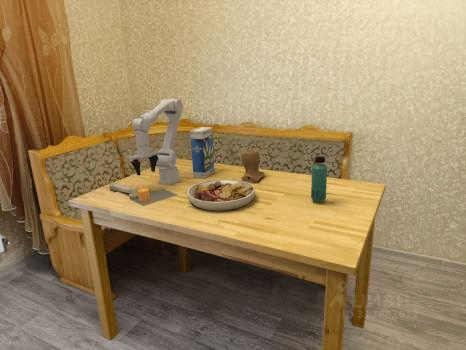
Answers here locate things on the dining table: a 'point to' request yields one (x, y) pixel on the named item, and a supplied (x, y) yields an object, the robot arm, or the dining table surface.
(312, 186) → the beverage bottle
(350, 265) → the dining table surface
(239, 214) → the dining table surface
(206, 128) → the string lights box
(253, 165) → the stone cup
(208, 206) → the bowl
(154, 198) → the charcoal board
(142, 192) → the orange cap
